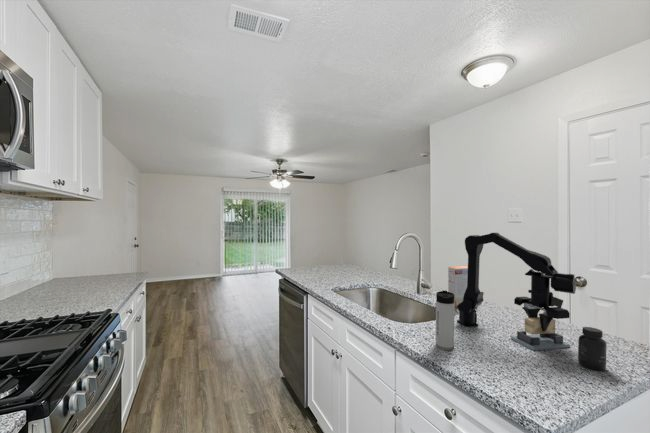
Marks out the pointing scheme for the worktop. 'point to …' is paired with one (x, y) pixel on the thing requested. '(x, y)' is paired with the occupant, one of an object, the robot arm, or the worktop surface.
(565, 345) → the board
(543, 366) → the worktop surface
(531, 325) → the slat
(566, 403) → the worktop surface
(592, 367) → the supplement bottle
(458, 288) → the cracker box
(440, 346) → the travel mug
